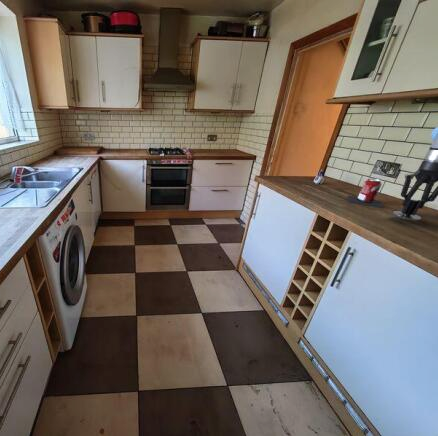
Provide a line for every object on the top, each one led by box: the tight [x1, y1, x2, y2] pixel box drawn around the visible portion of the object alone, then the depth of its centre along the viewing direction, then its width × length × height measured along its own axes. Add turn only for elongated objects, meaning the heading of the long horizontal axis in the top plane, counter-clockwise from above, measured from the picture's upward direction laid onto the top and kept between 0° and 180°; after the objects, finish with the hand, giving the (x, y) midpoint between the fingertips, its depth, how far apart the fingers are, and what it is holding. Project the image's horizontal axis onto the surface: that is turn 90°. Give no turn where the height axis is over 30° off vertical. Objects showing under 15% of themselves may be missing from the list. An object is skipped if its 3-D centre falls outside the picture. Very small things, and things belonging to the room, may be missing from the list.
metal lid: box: [392, 199, 422, 222], centre depth 102 cm, size 9×9×8 cm
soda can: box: [357, 178, 383, 202], centre depth 123 cm, size 7×7×12 cm
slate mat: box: [347, 195, 385, 209], centre depth 126 cm, size 14×12×1 cm
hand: (407, 213), depth 103 cm, fingers closed on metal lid, 2 cm apart
